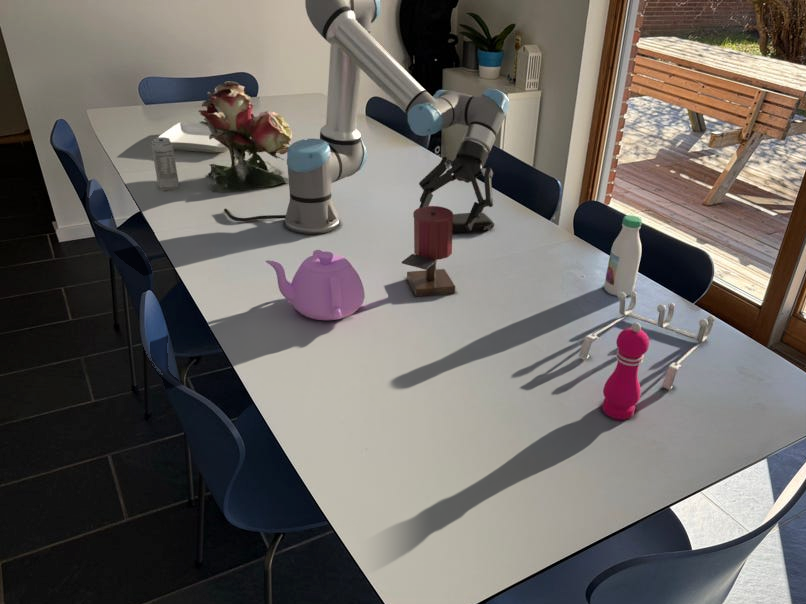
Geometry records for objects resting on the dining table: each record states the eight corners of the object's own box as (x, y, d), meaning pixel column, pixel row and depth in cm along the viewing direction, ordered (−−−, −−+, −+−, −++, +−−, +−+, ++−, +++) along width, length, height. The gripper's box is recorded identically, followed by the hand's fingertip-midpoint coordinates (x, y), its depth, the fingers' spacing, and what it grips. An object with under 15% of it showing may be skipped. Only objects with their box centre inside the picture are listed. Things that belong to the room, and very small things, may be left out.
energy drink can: (179, 183, 230) (171, 136, 222) (179, 190, 226) (171, 142, 217) (158, 184, 228) (150, 136, 220) (158, 191, 224) (149, 142, 216)
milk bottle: (635, 287, 191) (650, 216, 180) (630, 299, 185) (646, 226, 174) (606, 281, 193) (620, 210, 182) (601, 293, 187) (614, 220, 176)
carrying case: (451, 236, 210) (497, 232, 216) (452, 227, 209) (498, 222, 214) (439, 223, 218) (483, 219, 224) (439, 213, 217) (484, 209, 222)
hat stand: (415, 296, 178) (417, 225, 168) (406, 278, 186) (408, 209, 176) (454, 293, 181) (459, 223, 171) (444, 275, 188) (447, 208, 178)
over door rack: (712, 338, 171) (722, 302, 166) (671, 394, 149) (681, 355, 144) (627, 310, 180) (635, 275, 174) (578, 359, 158) (584, 321, 153)
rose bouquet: (303, 182, 239) (297, 88, 223) (215, 195, 224) (201, 95, 208) (275, 160, 256) (267, 71, 240) (190, 170, 242) (177, 76, 226)
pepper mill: (596, 399, 146) (613, 313, 135) (630, 399, 147) (650, 314, 136) (604, 421, 140) (622, 332, 129) (640, 421, 141) (661, 333, 130)
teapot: (262, 293, 173) (257, 240, 166) (351, 282, 181) (350, 231, 174) (279, 339, 157) (274, 282, 149) (376, 325, 165) (376, 270, 157)
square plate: (230, 157, 256) (229, 146, 253) (152, 151, 255) (151, 140, 253) (252, 136, 278) (251, 126, 276) (180, 130, 278) (179, 120, 275)
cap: (425, 240, 183) (425, 200, 177) (458, 248, 180) (459, 208, 174) (396, 262, 173) (395, 220, 167) (431, 271, 169) (431, 228, 163)
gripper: (523, 165, 182) (492, 240, 178) (437, 146, 190) (406, 216, 187) (516, 149, 175) (484, 226, 171) (428, 129, 183) (395, 203, 180)
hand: (443, 221), depth 179 cm, fingers open, 13 cm apart
